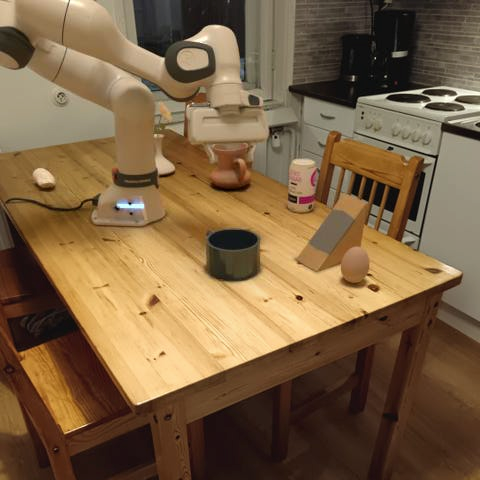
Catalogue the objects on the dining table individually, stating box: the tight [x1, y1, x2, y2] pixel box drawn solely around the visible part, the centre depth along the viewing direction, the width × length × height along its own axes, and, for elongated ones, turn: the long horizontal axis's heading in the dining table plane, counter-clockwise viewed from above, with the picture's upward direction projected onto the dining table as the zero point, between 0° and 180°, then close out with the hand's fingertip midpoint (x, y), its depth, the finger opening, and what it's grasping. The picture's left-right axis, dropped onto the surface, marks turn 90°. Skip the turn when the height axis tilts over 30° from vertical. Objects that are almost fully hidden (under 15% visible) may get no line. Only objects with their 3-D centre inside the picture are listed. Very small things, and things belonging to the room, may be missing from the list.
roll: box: [32, 167, 56, 189], centre depth 176 cm, size 6×12×6 cm, turn 32°
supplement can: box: [287, 158, 318, 214], centre depth 157 cm, size 8×8×15 cm
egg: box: [340, 246, 370, 284], centre depth 119 cm, size 7×7×9 cm
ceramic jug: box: [209, 143, 252, 190], centre depth 175 cm, size 18×14×14 cm
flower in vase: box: [154, 101, 176, 176], centre depth 185 cm, size 13×11×25 cm
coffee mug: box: [205, 227, 262, 282], centre depth 126 cm, size 18×13×8 cm
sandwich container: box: [295, 192, 368, 272], centre depth 128 cm, size 9×15×15 cm, turn 124°
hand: (232, 162), depth 121 cm, fingers open, 8 cm apart
